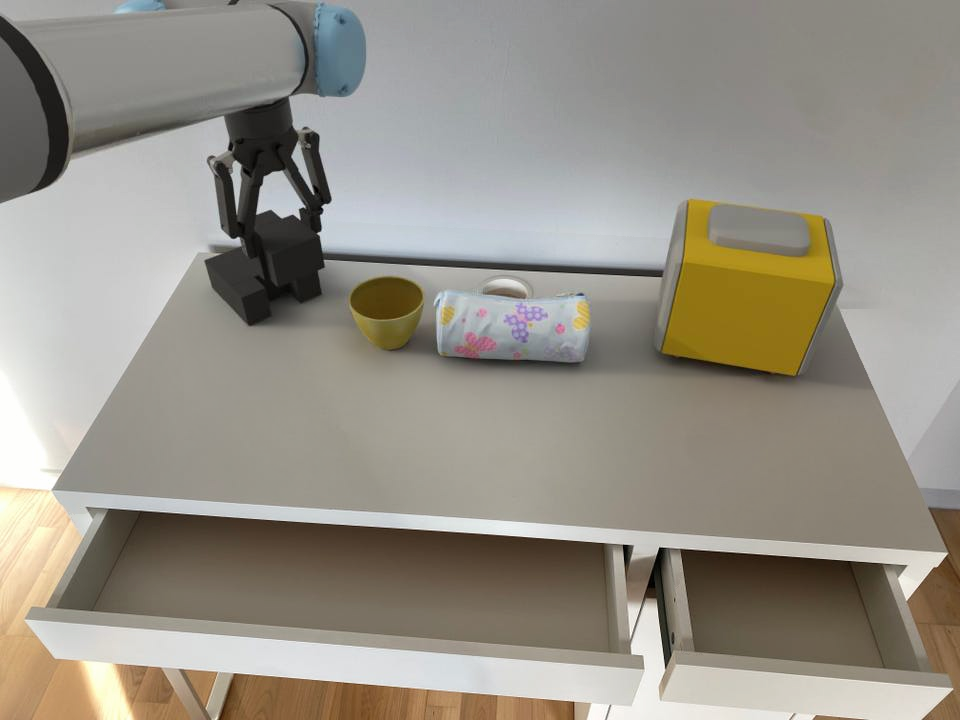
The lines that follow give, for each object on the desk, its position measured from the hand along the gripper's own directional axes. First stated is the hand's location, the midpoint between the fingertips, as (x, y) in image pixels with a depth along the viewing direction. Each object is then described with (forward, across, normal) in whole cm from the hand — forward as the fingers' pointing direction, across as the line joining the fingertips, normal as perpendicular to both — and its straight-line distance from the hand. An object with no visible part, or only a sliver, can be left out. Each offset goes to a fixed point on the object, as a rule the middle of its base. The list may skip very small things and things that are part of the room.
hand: (288, 264), depth 96 cm
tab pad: (0, 0, -1) cm, 1 cm away
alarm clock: (+10, -44, +41) cm, 61 cm away
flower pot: (+10, -8, +11) cm, 17 cm away
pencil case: (+10, -19, +24) cm, 32 cm away
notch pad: (+10, 0, -10) cm, 14 cm away
